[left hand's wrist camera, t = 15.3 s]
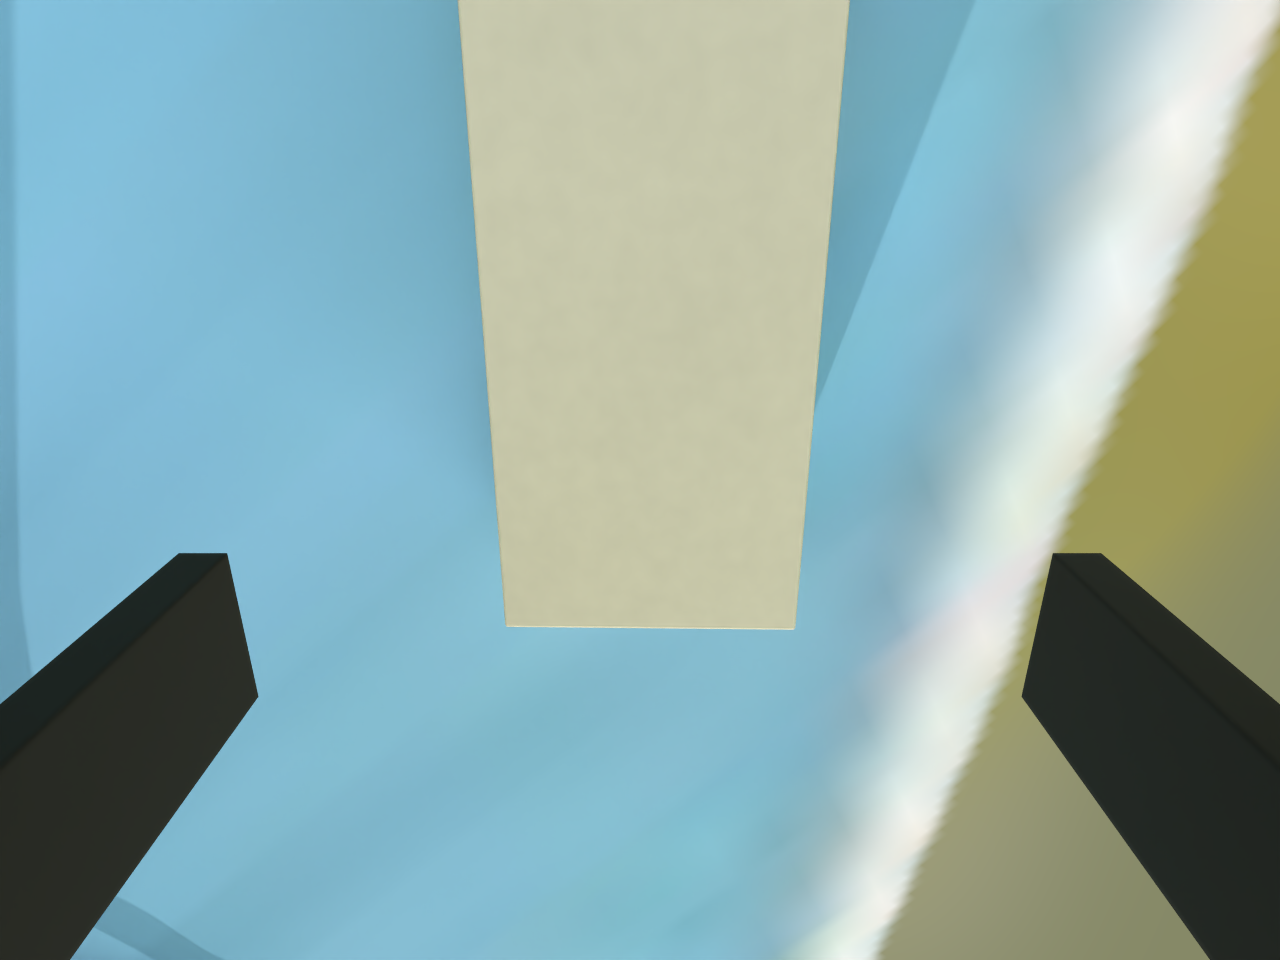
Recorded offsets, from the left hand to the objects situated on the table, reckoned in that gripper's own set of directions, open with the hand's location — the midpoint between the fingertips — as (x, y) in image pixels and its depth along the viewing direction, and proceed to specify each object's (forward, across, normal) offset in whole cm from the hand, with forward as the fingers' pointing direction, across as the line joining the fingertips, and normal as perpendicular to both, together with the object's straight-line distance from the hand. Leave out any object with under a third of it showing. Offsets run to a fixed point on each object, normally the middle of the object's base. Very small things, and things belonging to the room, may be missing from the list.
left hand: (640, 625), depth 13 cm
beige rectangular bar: (+16, 0, -29) cm, 33 cm away
